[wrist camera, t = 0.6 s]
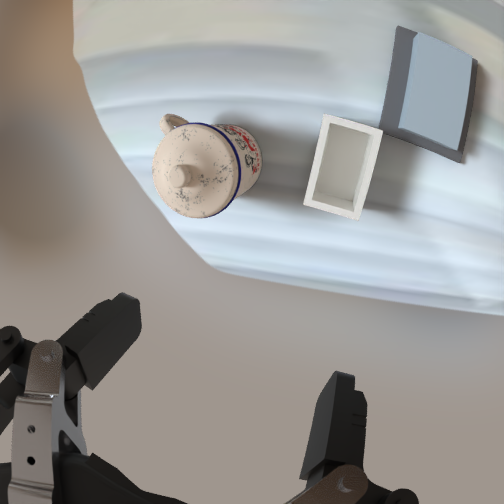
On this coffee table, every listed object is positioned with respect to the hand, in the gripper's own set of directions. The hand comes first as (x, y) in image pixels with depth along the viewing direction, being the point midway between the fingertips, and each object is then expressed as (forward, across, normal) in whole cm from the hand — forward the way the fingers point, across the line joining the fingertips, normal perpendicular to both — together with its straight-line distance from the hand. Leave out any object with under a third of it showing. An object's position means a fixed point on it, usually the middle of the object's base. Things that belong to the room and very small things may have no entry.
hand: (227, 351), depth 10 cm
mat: (+25, -11, -16) cm, 31 cm away
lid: (+24, -11, -16) cm, 30 cm away
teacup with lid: (+25, +11, -2) cm, 27 cm away
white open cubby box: (+25, -3, -4) cm, 25 cm away
